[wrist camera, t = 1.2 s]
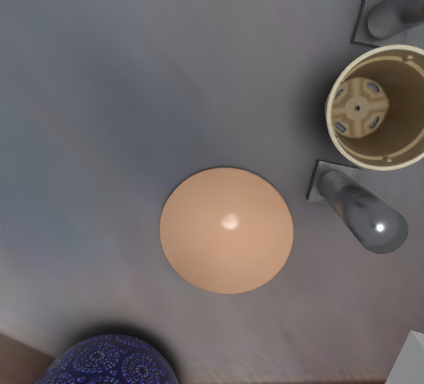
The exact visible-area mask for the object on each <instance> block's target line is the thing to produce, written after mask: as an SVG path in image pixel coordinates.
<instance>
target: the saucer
mask: <svg viewBox="0 0 424 384" xmlns="http://www.w3.org/2000/svg"><path fill="white" fill-rule="evenodd" d="M159 229H160V240H161V245H162V248H163V251H164V253H165V255H166V258H167V259H168V261H169V263H170V264H171V266H172V267H173V268H174V269H175V271H176V272H177V273H178V274H179V275H180V276H182V277H183V278H184V279H185V280H187V281H188V282H189V283H191V284H193V285H195V286H196V287H199V288H201V289H204V290H207V291H210V292H215V293H221V294H235V293H242V292H246V291H249V290H253V289H255V288H257V287H259V286H261V285H263V284H265V283H266V282H268V281H269V280H270V279H271V278H273V277H274V276H275V275H276V274H277V273H278V272H279V271H280V269H281V268H282V267H283V265H284V264H285V262H286V260H287V258H288V256H289V253H290V251H291V247H292V242H293V223H292V219H291V215H290V212H289V210H288V207H287V205H286V203H285V201H284V199H283V197H282V196H281V195H280V193H279V192H278V191H277V190H276V189H275V188H274V187H273V186H272V185H271V184H270V183H269V182H268V181H266V180H265V179H264V178H262V177H260V176H259V175H257V174H255V173H252V172H250V171H247V170H244V169H240V168H234V167H217V168H211V169H207V170H203V171H201V172H198V173H196V174H194V175H192V176H190V177H189V178H187V179H186V180H185V181H183V182H182V183H181V184H180V185H179V186H178V187H177V188H176V189H175V190H174V192H173V193H172V194H171V196H170V197H169V199H168V200H167V202H166V204H165V206H164V209H163V211H162V215H161V219H160V228H159Z"/></svg>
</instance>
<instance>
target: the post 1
mask: <svg viewBox="0 0 424 384" xmlns="http://www.w3.org/2000/svg"><path fill="white" fill-rule="evenodd" d="M422 23H424V0H363V1H362V5H361V8H360V12H359V15H358V19H357V22H356V26H355V29H354V33H353V36H352V39H351V43H354V44H359V45H364V46H369V47H374V48H379V47H382V46H387V45H395V44H399V45H403V44H404V41H405V37H406V34H407V31H408V29H411V28H413V27H415V26H418V25H420V24H422Z"/></svg>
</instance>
